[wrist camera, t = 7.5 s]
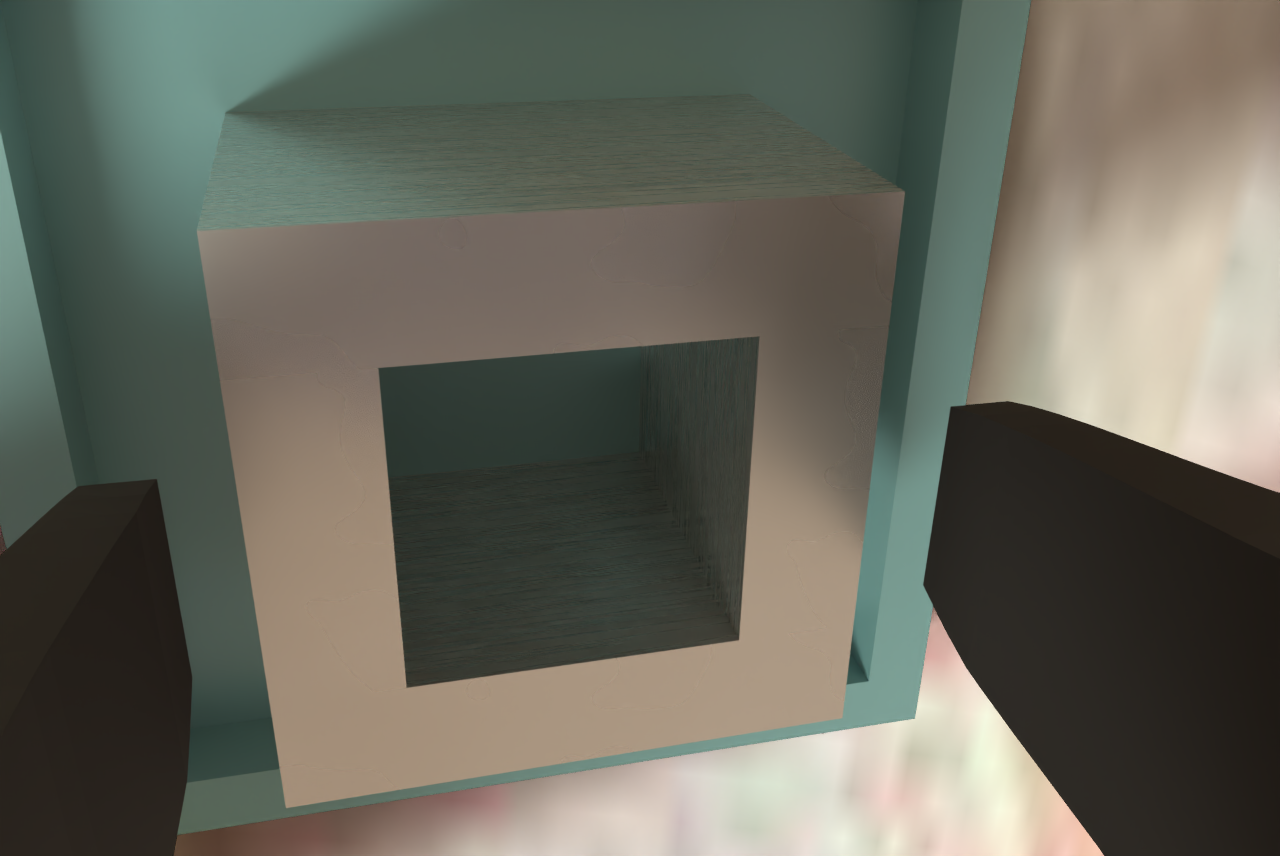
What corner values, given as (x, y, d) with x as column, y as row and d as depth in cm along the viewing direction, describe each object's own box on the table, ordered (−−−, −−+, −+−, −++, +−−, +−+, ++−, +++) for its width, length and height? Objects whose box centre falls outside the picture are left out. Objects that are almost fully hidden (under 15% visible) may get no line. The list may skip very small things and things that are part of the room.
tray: (980, -142, 13) (1053, -137, 12) (871, 655, 18) (914, 717, 17) (-116, -164, 11) (-172, -162, 10) (98, 765, 16) (82, 850, 15)
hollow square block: (749, 94, 13) (905, 191, 10) (724, 522, 16) (842, 718, 13) (225, 112, 12) (197, 229, 9) (288, 574, 15) (285, 808, 11)
